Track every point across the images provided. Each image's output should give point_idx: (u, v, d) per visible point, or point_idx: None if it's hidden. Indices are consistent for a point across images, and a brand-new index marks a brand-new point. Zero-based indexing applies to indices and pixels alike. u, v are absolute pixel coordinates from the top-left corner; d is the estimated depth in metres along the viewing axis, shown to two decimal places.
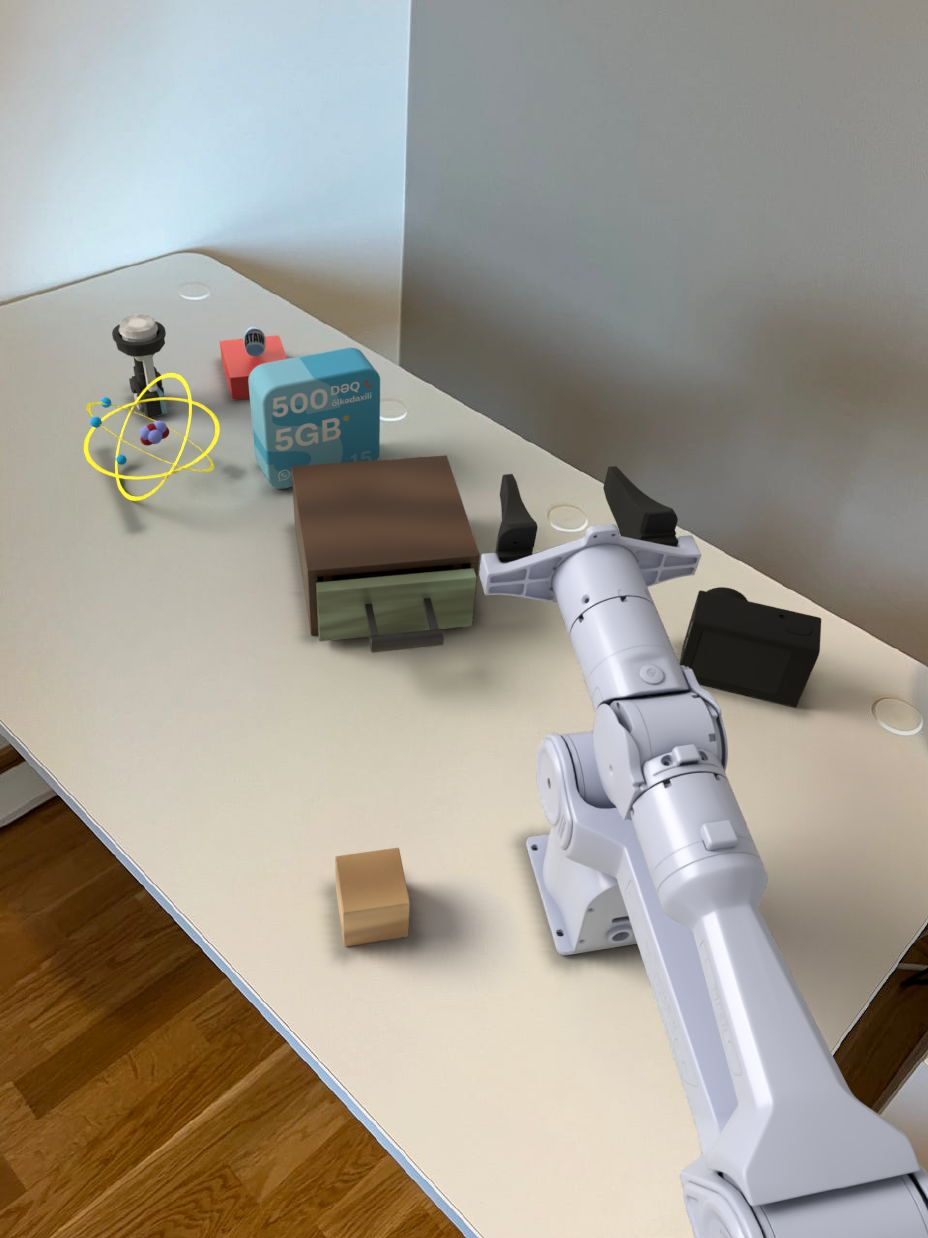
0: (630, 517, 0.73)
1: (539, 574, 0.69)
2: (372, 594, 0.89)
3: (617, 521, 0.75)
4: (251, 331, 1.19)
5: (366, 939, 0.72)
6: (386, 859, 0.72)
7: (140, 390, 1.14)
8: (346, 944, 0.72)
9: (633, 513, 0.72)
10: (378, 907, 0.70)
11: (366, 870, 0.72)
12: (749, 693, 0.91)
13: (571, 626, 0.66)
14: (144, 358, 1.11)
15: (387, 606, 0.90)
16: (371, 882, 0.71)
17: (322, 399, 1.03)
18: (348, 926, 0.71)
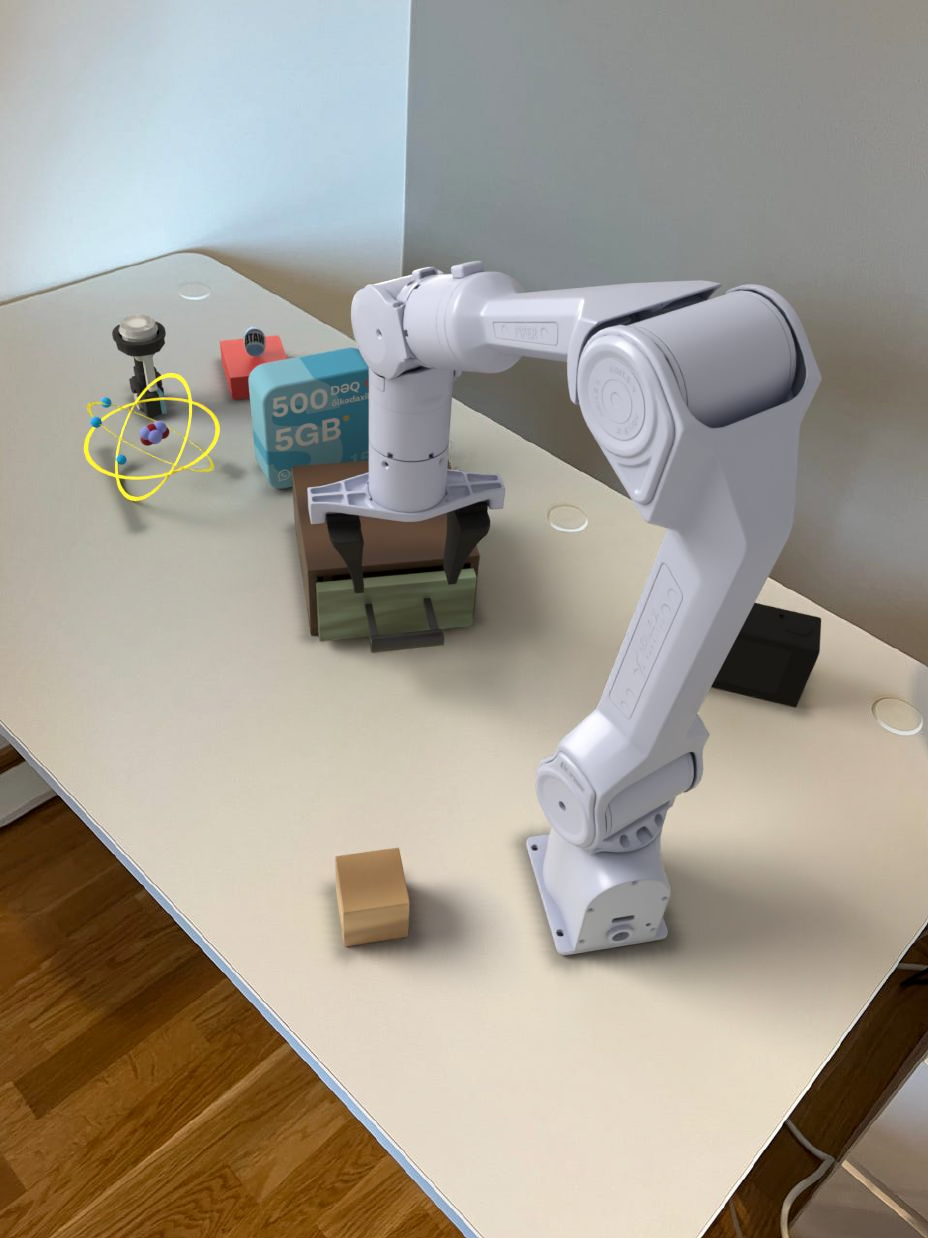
0: (450, 523, 0.83)
1: None
2: (372, 594, 0.89)
3: (453, 557, 0.83)
4: (251, 331, 1.19)
5: (366, 939, 0.72)
6: (386, 859, 0.72)
7: (140, 390, 1.14)
8: (346, 944, 0.72)
9: (448, 516, 0.83)
10: (378, 907, 0.70)
11: (366, 870, 0.72)
12: (749, 693, 0.91)
13: None
14: (144, 358, 1.11)
15: (387, 606, 0.90)
16: (371, 882, 0.71)
17: (322, 399, 1.03)
18: (348, 926, 0.71)
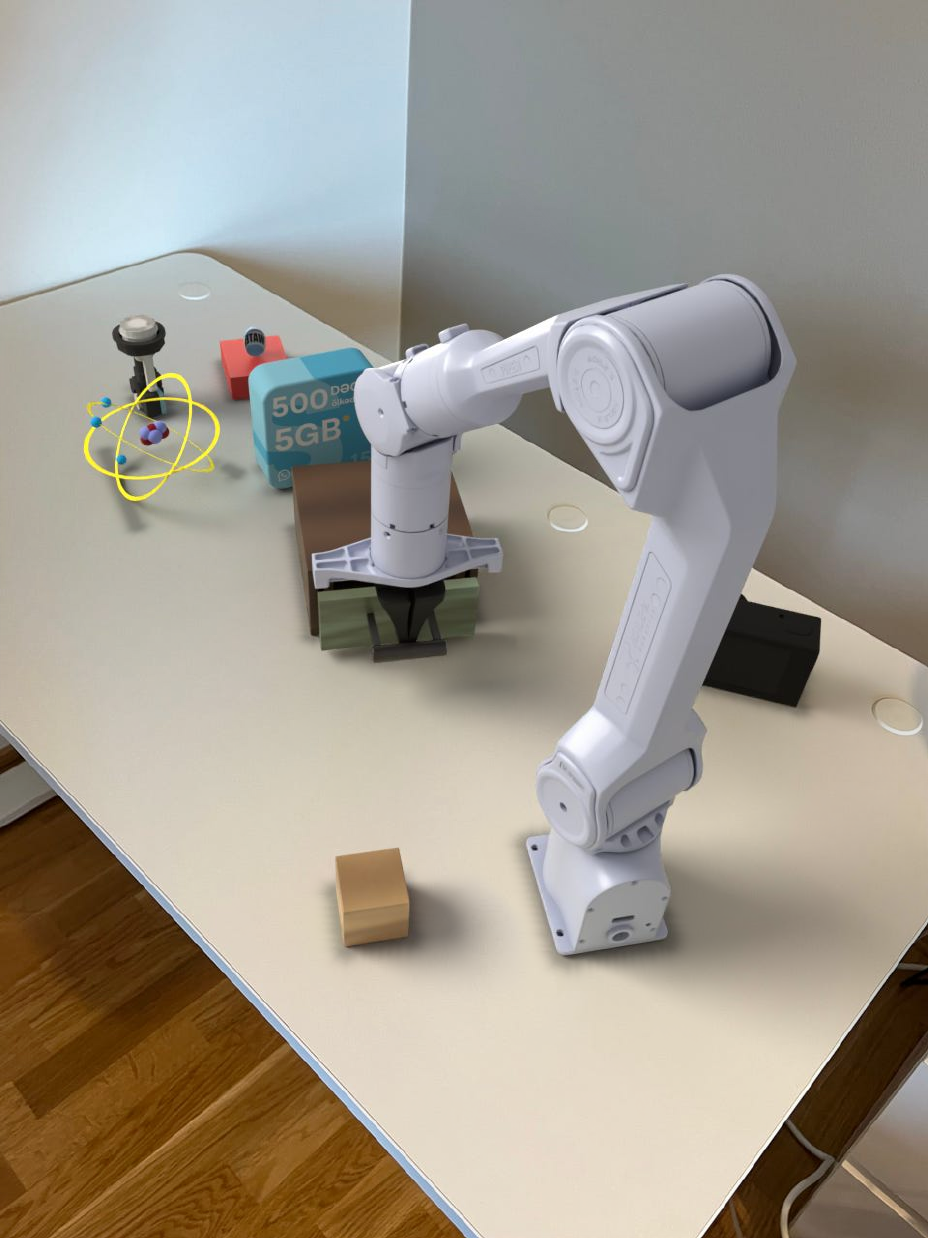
0: (407, 588, 0.85)
1: None
2: (374, 603, 0.88)
3: (411, 621, 0.85)
4: (251, 331, 1.19)
5: (366, 939, 0.72)
6: (386, 859, 0.72)
7: (140, 390, 1.14)
8: (346, 944, 0.72)
9: None
10: (378, 907, 0.70)
11: (366, 870, 0.72)
12: (749, 693, 0.91)
13: (371, 509, 0.78)
14: (144, 358, 1.11)
15: None
16: (371, 882, 0.71)
17: (322, 399, 1.03)
18: (348, 926, 0.71)
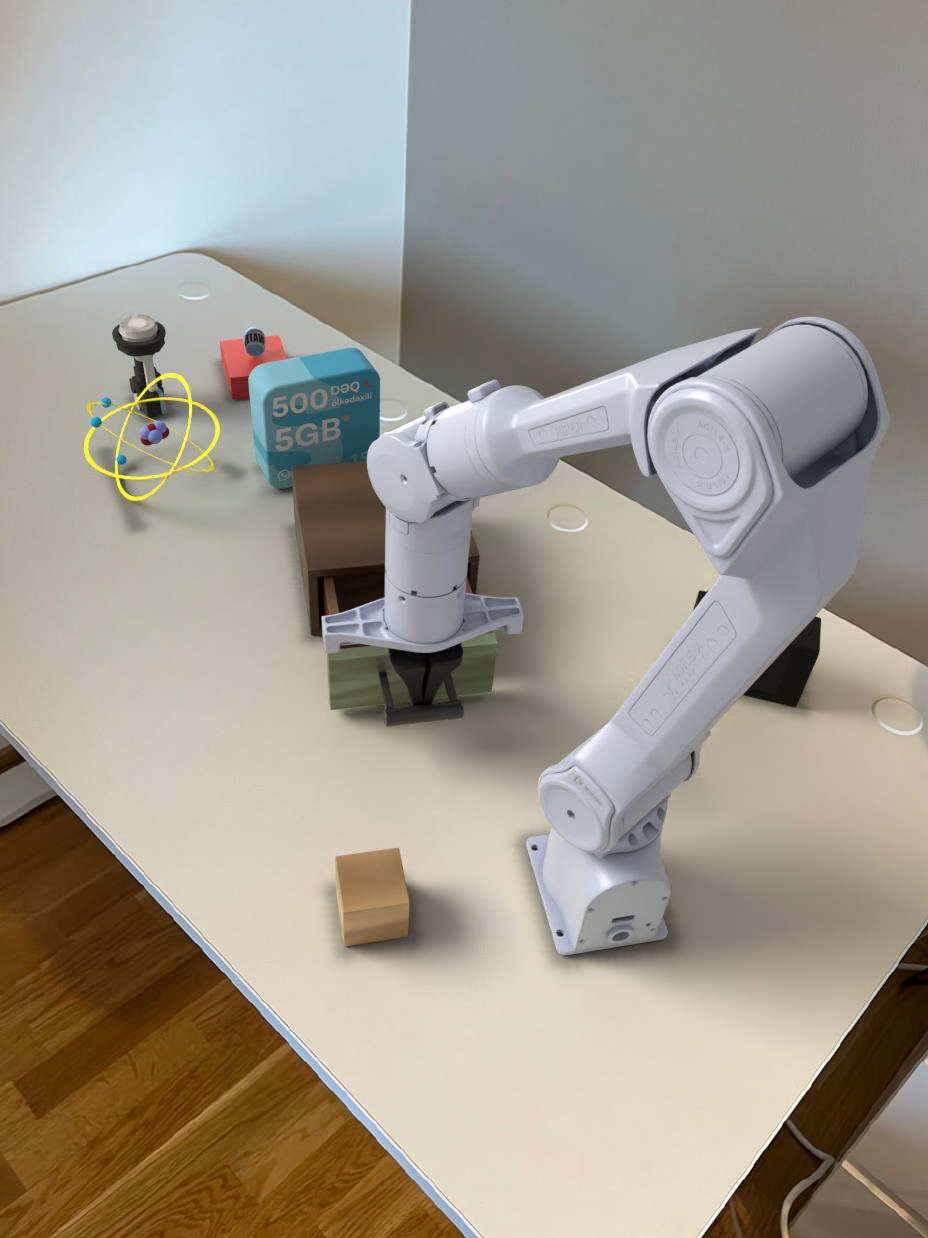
0: None
1: (373, 621, 0.77)
2: (387, 662, 0.84)
3: (426, 684, 0.80)
4: (251, 331, 1.19)
5: (366, 939, 0.72)
6: (386, 859, 0.72)
7: (140, 390, 1.14)
8: (346, 944, 0.72)
9: None
10: (378, 907, 0.70)
11: (366, 870, 0.72)
12: (749, 693, 0.91)
13: (385, 571, 0.74)
14: (144, 358, 1.11)
15: None
16: (371, 882, 0.71)
17: (322, 399, 1.03)
18: (348, 926, 0.71)
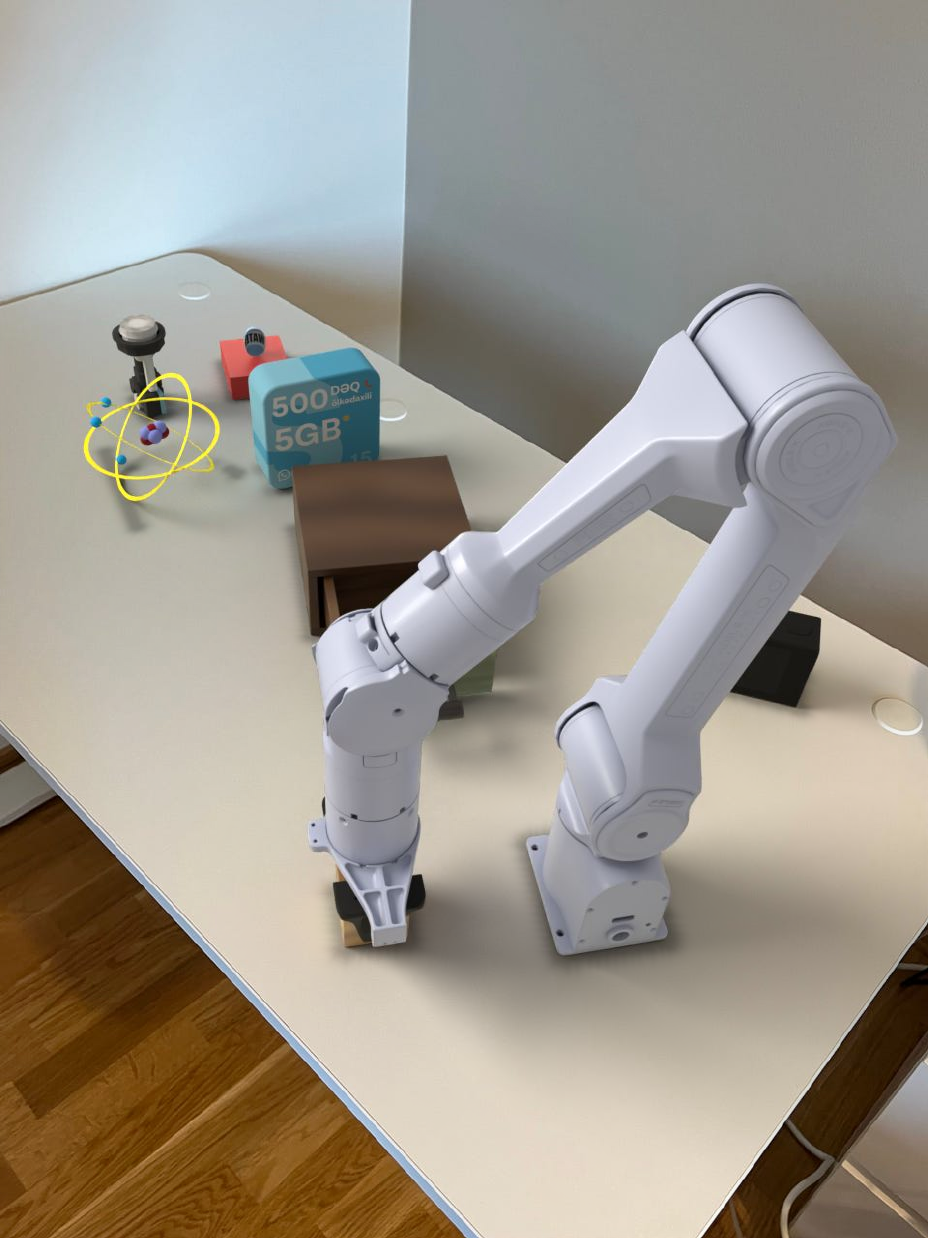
0: None
1: (377, 878, 0.65)
2: None
3: None
4: (251, 331, 1.19)
5: None
6: None
7: (140, 390, 1.14)
8: (346, 944, 0.72)
9: None
10: None
11: None
12: (749, 693, 0.91)
13: (373, 822, 0.62)
14: (144, 358, 1.11)
15: None
16: None
17: (322, 399, 1.03)
18: (348, 927, 0.71)
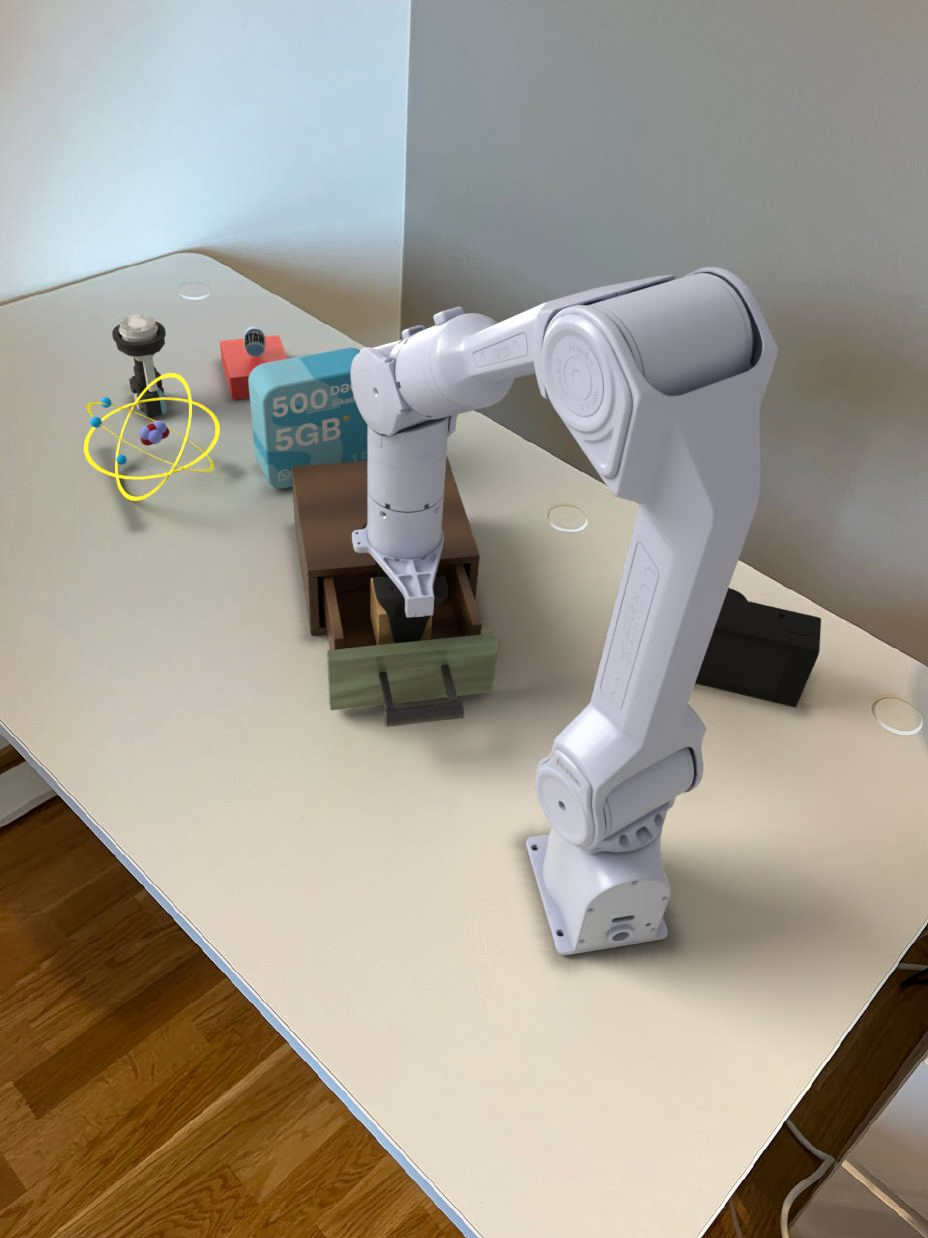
0: None
1: (409, 568, 0.80)
2: (387, 662, 0.84)
3: None
4: (251, 331, 1.19)
5: None
6: None
7: (140, 390, 1.14)
8: None
9: None
10: None
11: None
12: (749, 693, 0.91)
13: (407, 513, 0.77)
14: (144, 358, 1.11)
15: (402, 673, 0.85)
16: None
17: (322, 399, 1.03)
18: (382, 630, 0.86)
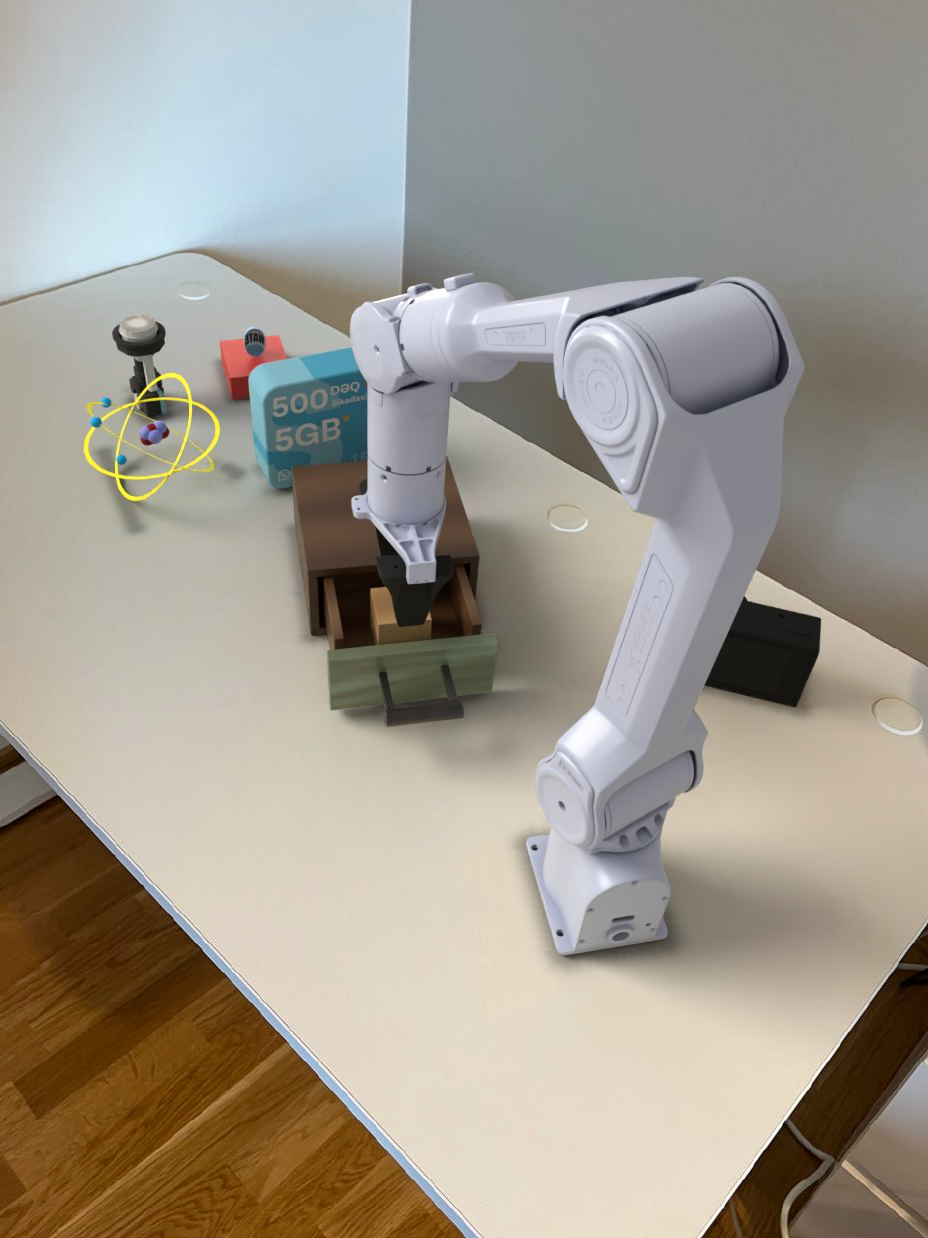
0: None
1: (411, 534, 0.78)
2: (387, 662, 0.84)
3: None
4: (251, 331, 1.19)
5: None
6: None
7: (140, 390, 1.14)
8: None
9: None
10: None
11: None
12: (749, 693, 0.91)
13: (409, 476, 0.75)
14: (144, 358, 1.11)
15: (402, 673, 0.85)
16: None
17: (322, 399, 1.03)
18: (382, 639, 0.87)
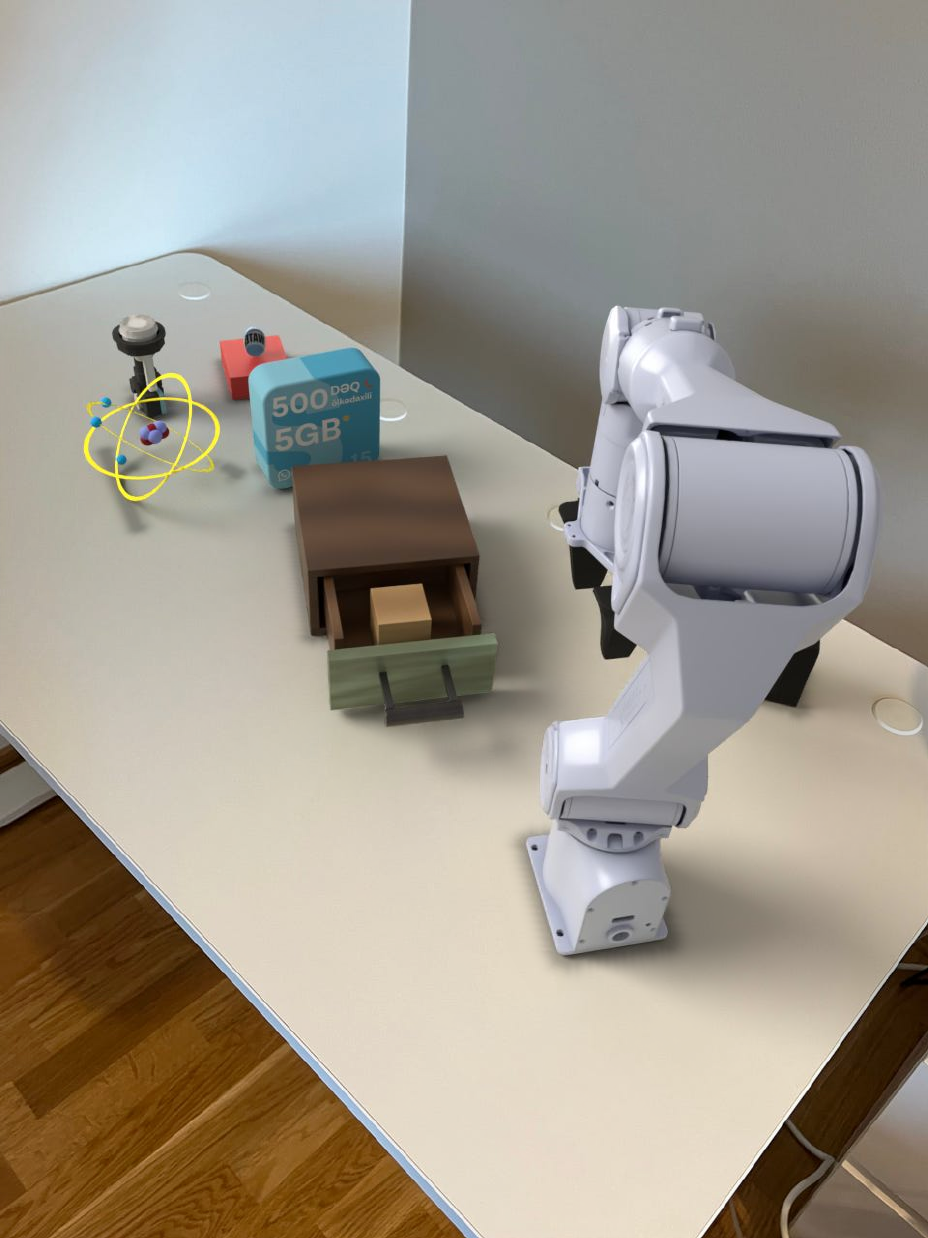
0: None
1: None
2: (387, 662, 0.84)
3: None
4: (251, 331, 1.19)
5: None
6: (412, 590, 0.89)
7: (140, 390, 1.14)
8: None
9: None
10: (406, 621, 0.86)
11: (396, 597, 0.88)
12: None
13: None
14: (144, 358, 1.11)
15: (402, 673, 0.85)
16: (400, 605, 0.87)
17: (322, 399, 1.03)
18: (382, 639, 0.87)
